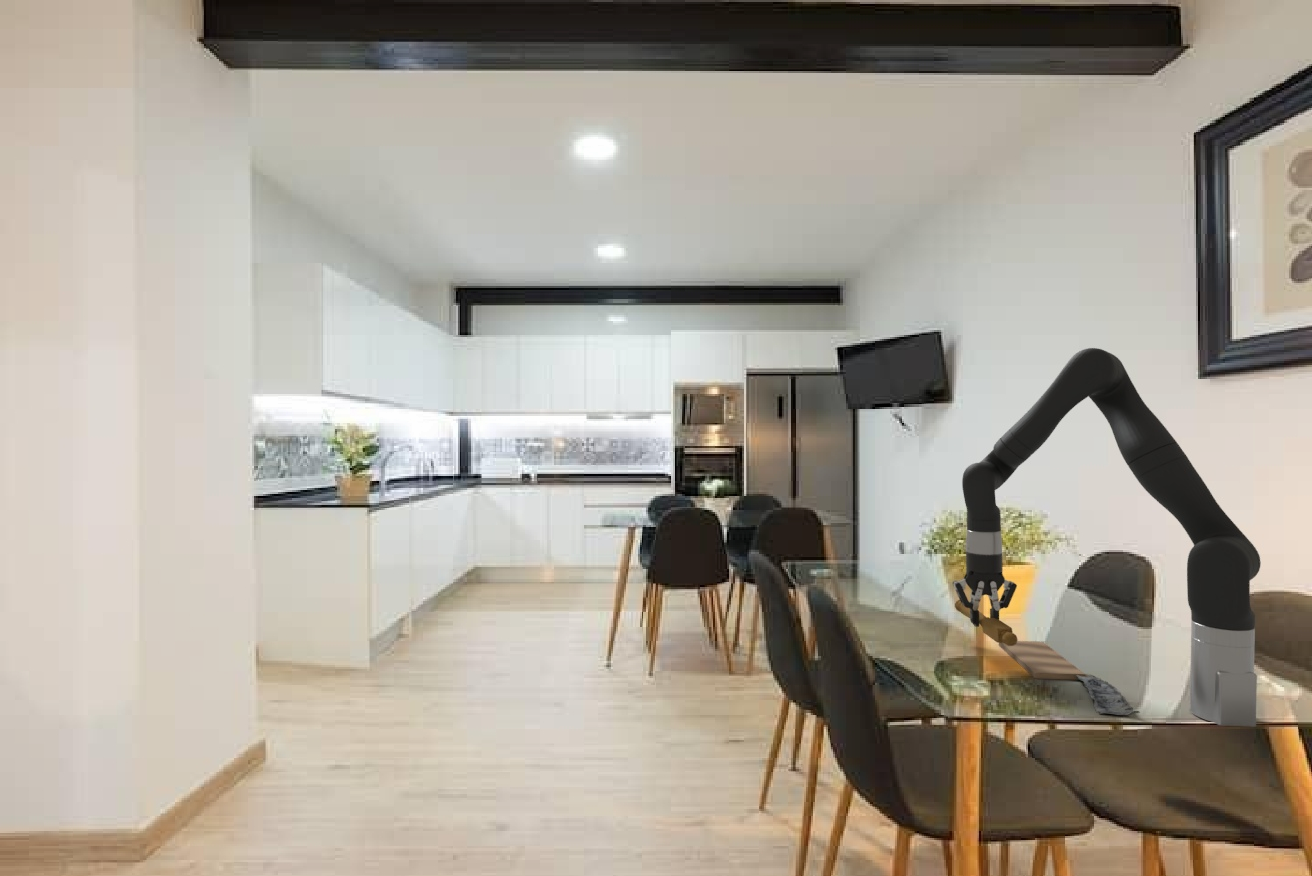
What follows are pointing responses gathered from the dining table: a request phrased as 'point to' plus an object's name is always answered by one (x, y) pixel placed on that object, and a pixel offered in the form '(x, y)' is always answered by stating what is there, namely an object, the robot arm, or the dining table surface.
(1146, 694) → the dining table surface
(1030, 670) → the cutting board
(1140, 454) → the robot arm
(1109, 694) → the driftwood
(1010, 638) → the tap handle
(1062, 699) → the dining table surface
